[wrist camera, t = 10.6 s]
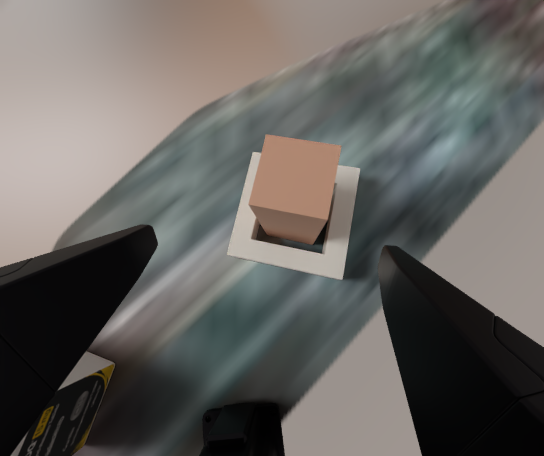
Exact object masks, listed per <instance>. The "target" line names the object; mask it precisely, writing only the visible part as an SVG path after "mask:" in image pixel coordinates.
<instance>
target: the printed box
mask: <svg viewBox="0 0 544 456" xmlns="http://www.w3.org/2000/svg"><path fill="white" fill-rule="evenodd" d="M114 368H115V363H114V362H111V361H109V360H107V359H104V358H102V357H99V356H97V355H94V354H92V353H89V352H87V351H86V352H85V353H84V355H83V356H82V357H81V359H80V360H79V362H78V363H77V364H76V366H75V367H74V368H73V370H72V371H71V373H70V374H69V375H68V377H67V378H66V379H65V381H64V382H63V384H62V385H61V386H60V388H59V389H58V390H57V391H56V394H55V395H54V396H53V398H52V399H51V401H50V402H49V403H48V405H47V406H46V407H45V409H44V410H43V412H42V413H41V414H40V416H39V417H38V419H37V420H36V421H35V423H34V424H33V425H32V427H31V428H30V430H29V431H28V432H27V434H26V435H25V436H24V438H23V439H22V441H21V442H20V443H19V445H18V446H17V448H16V449H15V450H14V452H13V453H12V454H11V456H72V455H73V454H74V453H76V452H77V451H78V450H79V449H81V448H82V447H83V446H84V444H85V442H86V440H87V437H88V434H89V432H90V429H91V427H92V424H93V422H94V419H95V416H96V414H97V411H98V409H99V406H100V404H101V401H102V398H103V396H104V393H105V391H106V388H107V386H108V383H109V380H110V378H111V375H112V373H113V370H114Z"/></svg>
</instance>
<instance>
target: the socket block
mask: <svg viewBox="0 0 544 456" xmlns="http://www.w3.org/2000/svg"><path fill="white" fill-rule="evenodd" d="M260 157H261V153H257V152H253V154H252V158H251V162H250V166H249V170H248V174H247V178H246V181H245V185H244V189H243V193H242V197H241V201H240V205H239V209H238V213H237V217H236V221H235V224H234V228H233V232H232V236H231V240H230V244H229V248H228V252H227V255H230V256H232V257H236V258H241V259H245V260H250V261H254V262H259V263H264V264H268V265H273V266H277V267H282V268H286V269H291V270H295V271H300V272H304V273H309V274H314V275H318V276H323V277H327V278H332V279H336V280H343V273H344V267H345V261H346V254H347V248H348V242H349V236H350V229H351V223H352V217H353V210H354V204H355V198H356V192H357V185H358V179H359V173H360V168H353V167H347V166H340V165H338V167H337V173H336V178H335V183H334V189H333V194H332V200H331V205H330V211H329V217H328V222H327V228H326V233H325V239H324V244H323V250H322V254H320V253H315V252H310V251H305V250H300V249H296V248H291V247H286V246H281V245H276V244H271V243H267V242H262V241H257V240H256V238H257V233H258V229H259V225H260V223H259V221H258V219H257V218H256V216H255V215H254V213H253V211H252V210H251V208H250V206H249V205H248V204H249V200H250V196H251V192H252V188H253V184H254V180H255V176H256V172H257V168H258V164H259V161H260Z"/></svg>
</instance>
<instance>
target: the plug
mask: <svg viewBox="0 0 544 456" xmlns="http://www.w3.org/2000/svg"><path fill="white" fill-rule="evenodd" d="M340 151H341V146H339V145H333V144H326V143H319V142H313V141H306V140H300V139H293V138H286V137H280V136H273V135H267V134H266V137H265V141H264V145H263V149H262V153H261V157H260V161H259V164H258V168H257V172H256V176H255V180H254V184H253V188H252V192H251V196H250V200H249V204H248V205H249V206H250V208H251V210H252V211H253V213H254V215H255V216H256V218H257V219H258V221H259V223H260V224H261V226H262V227H263V229H264V231H265V232H266V234H267V235H268V236H273V237H278V238H282V239H287V240H292V241H297V242H301V243H306V244H311V245H313V244H314V242H315V240H316V239H317V237H318V235H319V234H320V232H321V230H322V228H323V227H324V225H325V223H326V222H327V220H328V215H329V210H330V205H331V199H332V194H333V189H334V183H335V178H336V173H337V167H338V162H339V157H340Z"/></svg>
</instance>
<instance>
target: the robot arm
mask: <svg viewBox="0 0 544 456" xmlns="http://www.w3.org/2000/svg"><path fill="white" fill-rule="evenodd" d="M157 246H158V242H157V238H156V235H155V232H154V229H153V227H152V226H150V225H143V224H142V225H138V226H134V227H131V228H128V229H125V230H121V231H118V232H115V233H112V234H108V235H105V236H102V237H99V238H95V239H92V240H89V241H86V242H82V243H79V244H76V245H73V246H69V247H66V248H63V249H60V250H56V251H53V252H50V253H47V254H43V255H40V256H37V257H34V258H30V259H27V260H24V261H20V262H17V263H14V264H10V265H7V266H4V267H1V268H0V456H11V454H12V453H13V452H14V450H15V449H16V448H17V446H18V445H19V443H20V442H21V441H22V439H23V438H24V436H25V435H26V434H27V432H28V431H29V430H30V428H31V427H32V425H33V424H34V423H35V421H36V420H37V419H38V417H39V416H40V414H41V413H42V412H43V410H44V409H45V407H46V406H47V405H48V403H49V402H50V401H51V399H52V398H53V396H54V395H55V394H56V391H57V390H58V389H59V388H60V386H61V385H62V384H63V382H64V381H65V379H66V378H67V377H68V375H69V374H70V373H71V371H72V370H73V368H74V367H75V366H76V364H77V363H78V362H79V360H80V359H81V357H82V356H83V355H84V353H85V352H86V350H87V349H88V348H89V346H90V345H91V344H92V342H93V341H94V339H95V338H96V337H97V335H98V334H99V333H100V331H101V330H102V328H103V327H104V326H105V324H106V323H107V322H108V320H109V319H110V317H111V316H112V315H113V313H114V312H115V310H116V309H117V308H118V306H119V305H120V304H121V302H122V301H123V299H124V298H125V297H126V295H127V294H128V293H129V291H130V290H131V288H132V287H133V286H134V284H135V283H136V282H137V280H138V279H139V277H140V276H141V274H142V272H143V271H144V269H145V267H146V265H147V264H148V262H149V260H150V259H151V257H152V255H153V254H154V252H155V250H156V248H157ZM378 275H379V282H380V290H381V297H382V304H383V310H384V314H385V318H386V322H387V325H388V330H389V333H390V337H391V340H392V344H393V348H394V352H395V356H396V360H397V363H398V367H399V371H400V374H401V378H402V382H403V386H404V390H405V393H406V397H407V401H408V404H409V408H410V412H411V416H412V419H413V423H414V427H415V431H416V435H417V438H418V442H419V446H420V450H421V454H422V456H544V347H542V346H541V345H539V344H538V343H536V342H535V341H533V340H532V339H530V338H529V337H527V336H526V335H524V334H523V333H521V332H520V331H519V330H517V329H515V328H514V327H512V326H511V325H510V324H508V323H507V322H505V321H504V320H503V319H501V318H500V317H498V316H495V315H494V313H492V312H491V311H489V310H488V309H487V308H485V307H484V306H482V305H481V304H479V303H478V302H476V301H475V300H474V299H472V298H471V297H469V296H468V295H467V294H465V293H464V292H462V291H461V290H459V289H458V288H456V287H455V286H453V285H452V284H450V283H449V282H448V281H446V280H445V279H443V278H442V277H441V276H439V275H438V274H436V273H435V272H433V271H432V270H431V269H429V268H428V267H426V266H425V265H423V264H422V263H420V262H419V261H418V260H416V259H415V258H413V257H412V256H410V255H409V254H407V253H406V252H405V251H403V250H402V249H400V248H399V247H397V246H389V245H385V246H384V247H383V249H382V252H381V256H380V259H379V263H378ZM271 409H274V410H275V411H276V412H275V413H272V412H271V411H270V410H271ZM207 416H210V417H211V420H209V419H208V418H207ZM202 421H203V438H204V447H203V449H202V451H201V453H200V455H199V456H285V453H284V445H283V436H282V428H281V420H280V412H279V407H278V405H277V404H275V403H269V404H259V405H255V404H253V403H242V404H233V405H225V406H224V407H223V408H221V409H211V410H207V411H206V412H205V414H204V415H203V419H202Z"/></svg>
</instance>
